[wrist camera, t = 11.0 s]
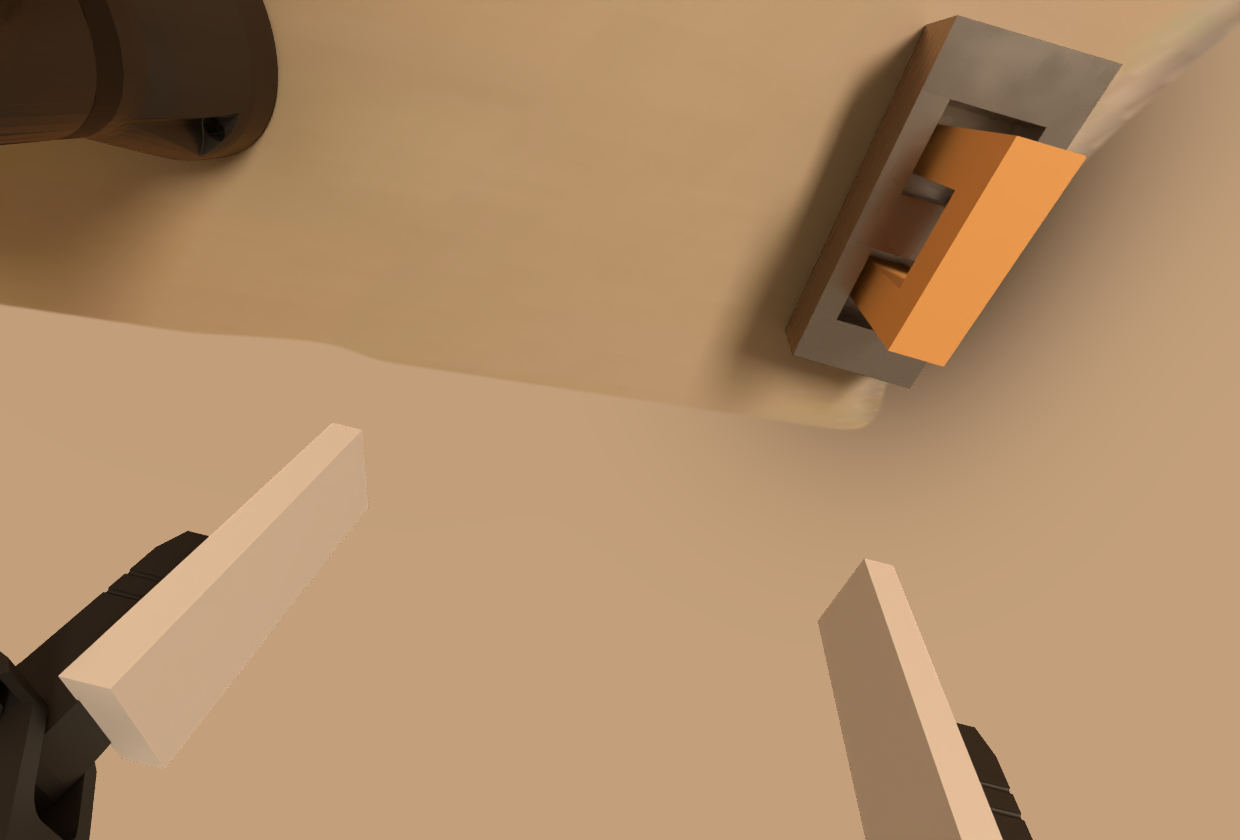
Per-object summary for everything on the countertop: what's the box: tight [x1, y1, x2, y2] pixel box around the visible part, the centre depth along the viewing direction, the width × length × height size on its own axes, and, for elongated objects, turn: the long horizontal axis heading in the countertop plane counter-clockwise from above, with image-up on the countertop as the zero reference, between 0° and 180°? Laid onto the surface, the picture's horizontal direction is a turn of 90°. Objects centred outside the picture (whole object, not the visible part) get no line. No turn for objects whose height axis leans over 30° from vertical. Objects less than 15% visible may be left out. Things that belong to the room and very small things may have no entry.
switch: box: [785, 15, 1122, 388], centre depth 30 cm, size 8×18×4 cm, turn 167°
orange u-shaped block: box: [849, 124, 1087, 367], centre depth 28 cm, size 3×10×10 cm, turn 167°
